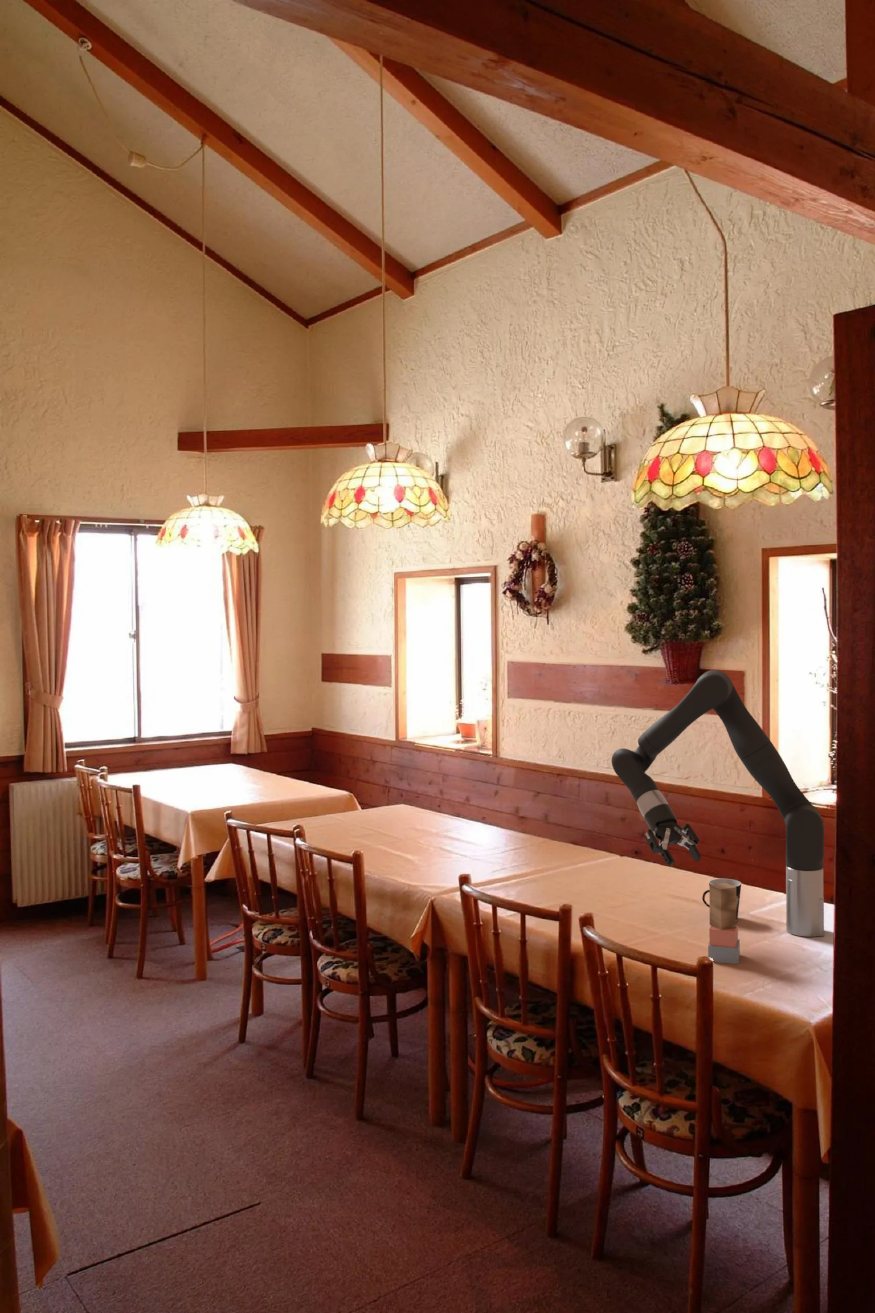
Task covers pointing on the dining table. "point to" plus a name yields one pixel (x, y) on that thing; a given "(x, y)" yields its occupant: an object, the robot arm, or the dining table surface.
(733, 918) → the pillar brick
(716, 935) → the tower brick
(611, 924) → the dining table surface
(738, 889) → the coffee mug
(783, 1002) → the dining table surface
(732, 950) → the tower bottom brick
